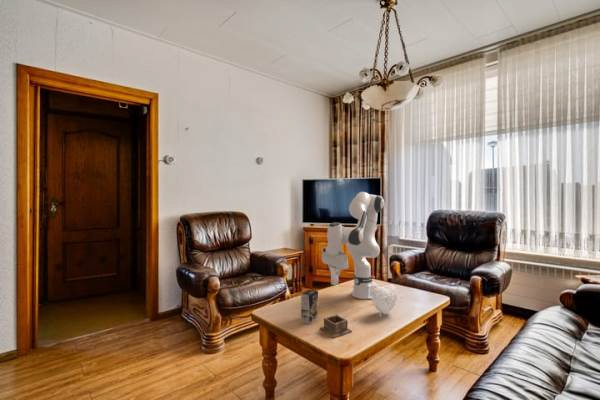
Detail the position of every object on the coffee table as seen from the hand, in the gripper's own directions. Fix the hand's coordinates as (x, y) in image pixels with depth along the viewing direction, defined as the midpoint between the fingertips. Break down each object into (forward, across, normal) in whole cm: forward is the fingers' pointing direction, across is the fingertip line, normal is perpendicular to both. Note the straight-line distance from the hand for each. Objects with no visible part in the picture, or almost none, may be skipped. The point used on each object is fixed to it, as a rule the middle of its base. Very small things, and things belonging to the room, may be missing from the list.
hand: (334, 273), depth 174 cm
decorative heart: (+25, -15, -26) cm, 39 cm away
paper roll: (+6, 0, 0) cm, 6 cm away
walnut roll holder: (+25, -15, +12) cm, 31 cm away
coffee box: (+25, +3, +16) cm, 30 cm away
